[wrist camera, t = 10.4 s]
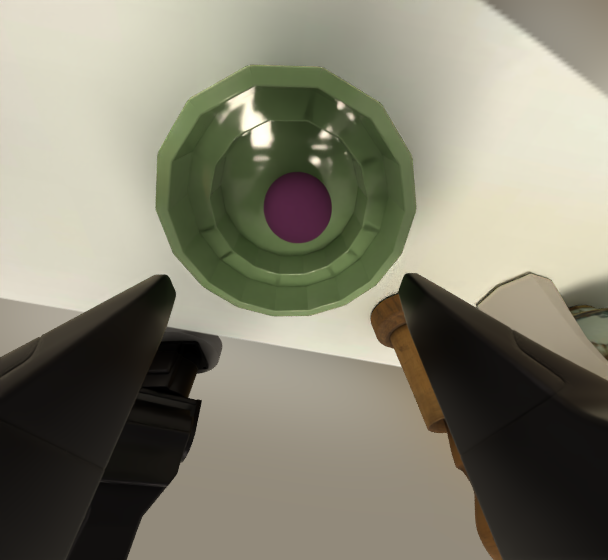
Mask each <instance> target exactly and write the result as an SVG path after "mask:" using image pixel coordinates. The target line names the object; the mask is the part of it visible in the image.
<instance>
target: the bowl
mask: <svg viewBox="0 0 608 560" xmlns="http://www.w3.org/2000/svg"><path fill="white" fill-rule="evenodd" d="M568 309H569V311H570V312H571V314H572V315H573V317H574V319H575V320H576V322H577V323H578V325H579V326H580V328H581V330H582V331H583V333H584V334H585V336H586V337H587V339H588V340H589V341H590V342H591V343H592V344H593V345H594V347H595V348H596V349H597V350H598V351H599V352H600V353H601V354H602V356H603V357H604V358H605V359H606V360H607V361H608V308H601V309H596V308H594V307H592V306H588V305H580V306H574V307H570V308H568Z"/></svg>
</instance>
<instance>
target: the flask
mask: <svg viewBox="0 0 608 560" xmlns="http://www.w3.org/2000/svg"><path fill="white" fill-rule="evenodd" d="M477 307H478V309H479V310H481V311H483V312H484V313H486V314H488V315H490V316H491V317H493V318H495V319H496V320H498V321H500V322H502V323H503V324H505V325H507V326H509V327H510V328H511V329H512V330H516V331H517V332H519V333H521V334H522V335H524V336H526V337H528V338H529V339H531V340H533V341H535V342H536V343H538V344H540V345H542V346H544V347H545V348H547V349H549V350H551V351H553V352H555V353H557V354H558V355H560V356H562V357H564V358H566V359H568V360H570V361H572V362H574V363H575V364H577V365H579V366H581V367H583V368H585V369H587V370H589V371H591V372H593V373H595V374H597V375H599V376H600V377H602V378H604V379H606V380H608V361H607V360H606V359H605V358H604V357H603V356H602V354H601V353H600V352H599V351H598V350H597V349H596V348H595V347H594V345H593V344H592V343H591V342H590V341H589V340H588V339H587V337H586V336H585V334H584V333H583V331H582V330H581V328H580V326H579V325H578V323H577V322H576V320H575V319H574V317H573V315H572V314H571V312H570V311H569V309H568V307H567V306H566V304H565V302H564V300H563V299H562V297H561V295H560V293H559V292H558V290H557V288H556V287H555V285H554V283H553V282H552V280H550V279H547V278H543V277H540V276H537V275H534V274H529V275H526V276H524V277H521V278H519V279H516V280H514V281H512V282H509V283H507V284H504V285H502V286H499V287H498V288H497V289H496V290H494V291H493V292H492V293H491V294H490V295H489V296H488V297H487V298H486V299H484V300H483V301H482V302H481V303H480V304H479V305H478V306H477Z"/></svg>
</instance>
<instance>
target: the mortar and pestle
mask: <svg viewBox="0 0 608 560" xmlns="http://www.w3.org/2000/svg"><path fill="white" fill-rule="evenodd" d="M371 324H372V326H373V329H374V332H375V334H376V337H377V339H378V341H379V342H380V343H381V344H383V345H384V346H387V347H390V348H394V350H395V352H396V354H397V357H398V359H399V361H400V364H401V366H402V368H403V371H404V373H405V375H406V378H407V380H408V382H409V385H410V387H411V389H412V392H413V394H414V397H415V399H416V402H417V404H418V407H419V409H420V411H421V414H422V416H423V419H424V421H425V424H426V426H427V429H428V430H429V431H431V432H435V433H447V434H448V439H449V443H450V448H451V452H452V456H453V459H454V463H455V465H456V467H457V468H458V469H460V470H462V471H463V472H464V474H465V475H466V476H467V478H468V479H469V477H468V475H467V472H466V470H465V467H464V465H463V462H462V460H461V458H460V456H461V455H460V454H459V452H458V450H457V447H456V445H455V442H454V440H453V437H452V435H451V433H450V430H449V428H448V425H447V423H446V420H445V418H444V415H443V413H442V410H441V408H440V406H439V403H438V401H437V398H436V396H435V393H434V391H433V388H432V386H431V384H430V381H429V379H428V376H427V374H426V371H425V369H424V366H423V364H422V361H421V359H420V357H419V354H418V352H417V349H416V347H415V344H414V342H413V339H412V337H411V334H410V332H409V329H408V326H407V323H406V319H405V316H404V312H403V309H402V305H401V301H400V298H399V294H397V295H394V296H392V297H389V298H387V299H386V300H384V301H382V302H381V303H380V304H379V305H377V307H376V308H375V309H374V311H373V312H372V315H371ZM469 481H470V480H469ZM470 483H471V482H470ZM471 485H472V484H471ZM473 490H474V489H473ZM474 494H475V492H474ZM475 520H476V527H477V531H478V534H479V537H480V539H481V541H482V543H483V545H484V547H485V548H486V550H487V552H488V553H489V554H490V556H491V557H492V558H493V560H503V559H502V557H501V555H500V553H499V551H498V548H497V546H496V543H495V541H494V538H493V536H492V533H491V531H490V529H489V526H488V524H487V521H486V519H485V516H484V514H483V511H482V509H481V507H480V504H479V502H478V499H477V497H476V494H475Z"/></svg>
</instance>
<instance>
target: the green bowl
mask: <svg viewBox="0 0 608 560" xmlns="http://www.w3.org/2000/svg"><path fill="white" fill-rule="evenodd" d="M291 172H304V173H308V174H311V175H312V176H314V177H316V178H317V179H319V180H320V181H321V182H322V183H323V184H324V186H325V187H326V188H327V190H328V192H329V195H330V198H331V202H332V213H331V218H330V221H329V224H328V226H327V227H326V229H325V230H324V231H323V233H322V234H321V235H319V236H318V237H317V238H315V239H314V240H312V241H309V242H306V243H290V242H287V241H285V240H282V239H281V238H279V237H278V236H277V235H275V234H274V233H273V232H272V230H271V229H270V227H269V226H268V224H267V222H266V219H265V216H264V199H265V195H266V193H267V191H268V189H269V187H270V186H271V184H272V183H273V182H274V181H275V180H276V179H278V178H279V177H281V176H282V175H285V174H287V173H291ZM156 212H157V214H158V217H159V219H160V222H161V224H162V227H163V229H164V232H165V234H166V237H167V239H168V242H169V244H170V247H171V249H172V252H173V254H174V255H175V256H176V257H177V258H178V260H179V261H180V262H181V263H182V264H183V265H184V266H185V267H186V268H187V270H188V271H189V272H190V273H191V274H192V275H193V276H194V277H195V279H196V280H197V281H198V282H199V283H200V284H201V285H202V286H203V287H204V288H206V289H208V290H209V291H211V292H213V293H214V294H216V295H218V296H219V297H221V298H223V299H224V300H226V301H228V302H230V303H231V304H233V305H235V306H236V307H239V308H243V309H247V310H251V311H255V312H258V313H262V314H266V315H270V316H309V315H314V314H317V313H321V312H324V311H327V310H331V309H334V308H338V307H341V306H344V305H346V304H348V303H349V302H351V301H352V300H354V299H355V298H357V297H359V296H360V295H362V294H363V293H365V292H366V291H368V290H369V289H371V288H372V287H374V286H376V285H377V283H378V282H379V281H380V280H381V279H382V277H383V276H384V275H385V274H386V272H387V271H388V270H389V269H390V267H391V266H392V265H393V264H394V263H395V261H396V260H397V259H398V258H399V256H400V255H401V254H402V251H403V248H404V245H405V242H406V239H407V236H408V233H409V230H410V227H411V225H412V222H413V219H414V216H415V213H416V197H415V184H414V172H413V159H412V155H411V153H410V152H409V150H408V148H407V147H406V145H405V143H404V141H403V140H402V138H401V136H400V135H399V133H398V131H397V129H396V128H395V126H394V124H393V123H392V121H391V119H390V117H389V116H388V114H387V112H386V111H385V109H384V107H383V105H382V104H381V103H380V102H378V101H377V100H375V99H373V98H372V97H370V96H369V95H367V94H365V93H364V92H362V91H361V90H359V89H357V88H356V87H354V86H352V85H351V84H349V83H348V82H346V81H344V80H343V79H341V78H339V77H338V76H336V75H335V74H333V73H331V72H330V71H328V70H327V69H325V68H323V67H322V68H321V67H316V66H282V65H250V66H245V67H244V68H242V69H240V70H238V71H237V72H235V73H233V74H231V75H230V76H228V77H226V78H224V79H223V80H221V81H219V82H217V83H215V84H214V85H212V86H210V87H208V88H207V89H205V90H203V91H201V92H200V93H198V94H196V95H194V96H193V97H191V98H190V99H189V100H188V101H187V102H186V104H185V106H184V107H183V109H182V111H181V113H180V114H179V116H178V118H177V120H176V121H175V123H174V125H173V127H172V128H171V130H170V132H169V134H168V135H167V137H166V139H165V141H164V142H163V144H162V146H161V148H160V149H159V151H158V155H157V180H156Z"/></svg>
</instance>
